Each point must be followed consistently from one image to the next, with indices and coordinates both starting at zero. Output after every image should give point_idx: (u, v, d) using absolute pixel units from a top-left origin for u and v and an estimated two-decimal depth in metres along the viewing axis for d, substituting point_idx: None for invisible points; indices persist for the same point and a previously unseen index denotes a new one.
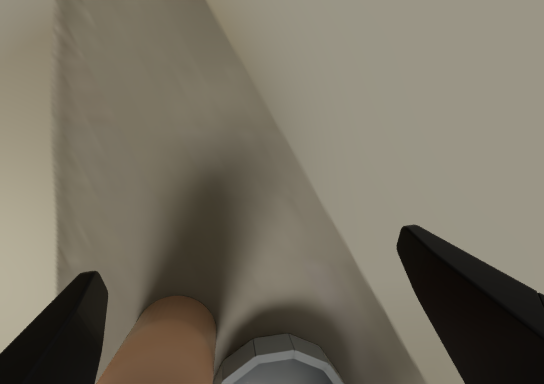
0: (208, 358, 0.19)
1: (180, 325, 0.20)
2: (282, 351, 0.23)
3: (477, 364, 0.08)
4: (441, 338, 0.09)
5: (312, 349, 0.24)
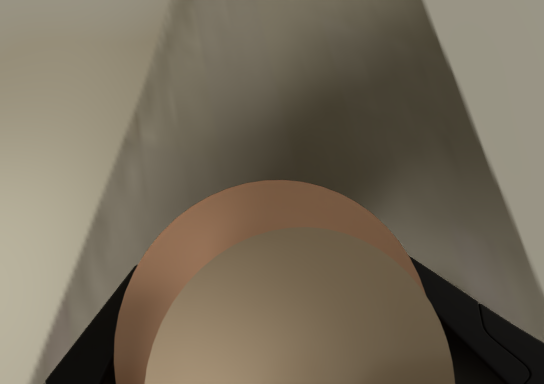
0: None
1: None
2: None
3: None
4: None
5: None
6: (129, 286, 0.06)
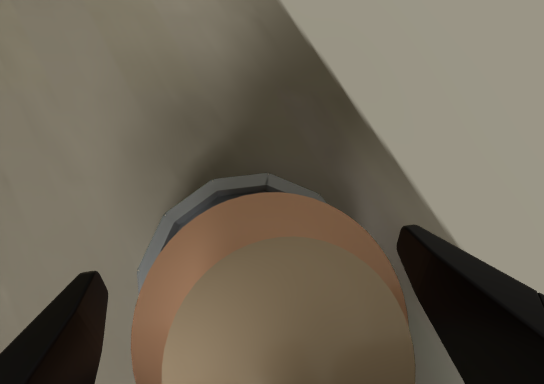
0: None
1: None
2: None
3: (477, 364, 0.08)
4: (441, 338, 0.09)
5: None
6: (144, 285, 0.07)
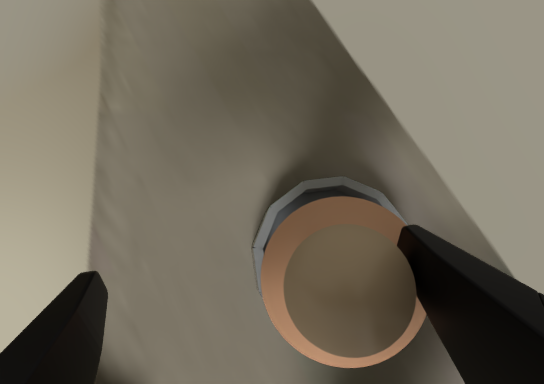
0: None
1: None
2: (330, 177, 0.21)
3: (477, 364, 0.08)
4: (441, 338, 0.09)
5: None
6: (265, 251, 0.12)
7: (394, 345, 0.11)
